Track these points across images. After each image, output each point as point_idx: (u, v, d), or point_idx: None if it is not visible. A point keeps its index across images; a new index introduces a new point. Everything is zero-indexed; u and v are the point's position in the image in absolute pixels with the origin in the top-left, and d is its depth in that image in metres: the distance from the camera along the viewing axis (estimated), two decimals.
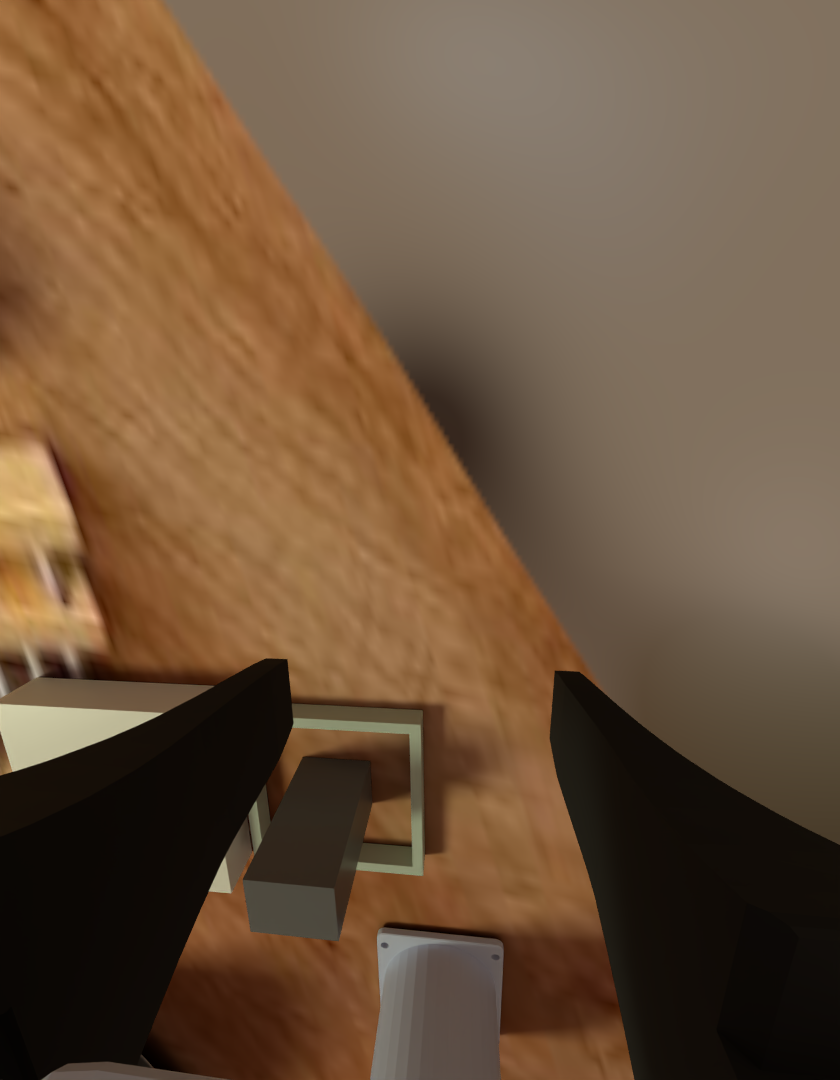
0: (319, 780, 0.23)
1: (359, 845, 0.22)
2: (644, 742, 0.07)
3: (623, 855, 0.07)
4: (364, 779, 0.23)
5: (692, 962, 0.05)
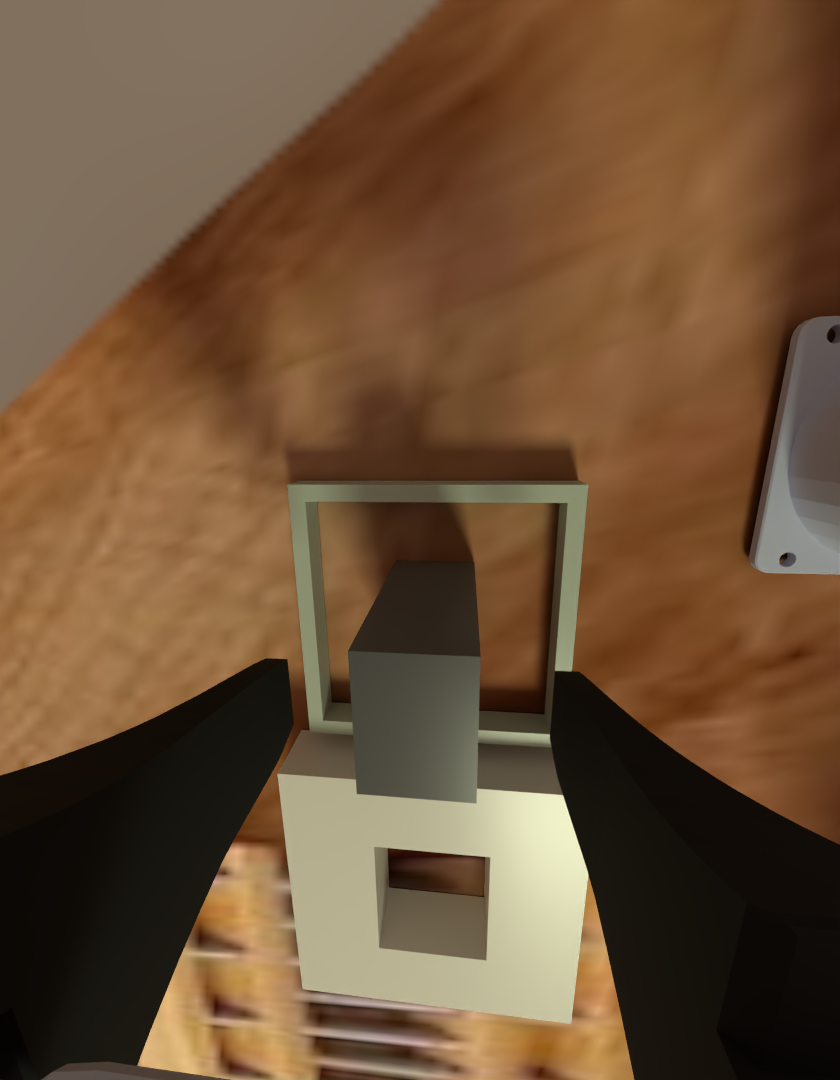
0: None
1: (457, 591, 0.13)
2: (644, 742, 0.07)
3: (623, 855, 0.07)
4: (392, 571, 0.15)
5: (693, 963, 0.05)
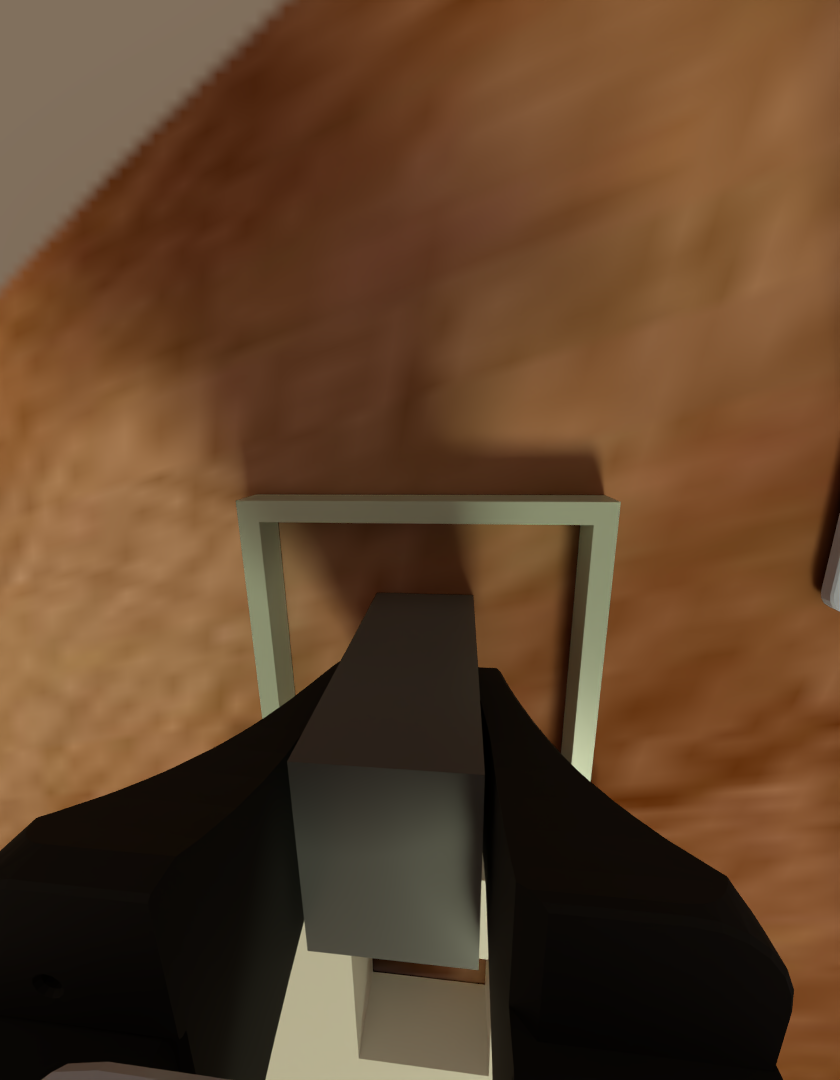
0: None
1: (452, 643, 0.10)
2: (524, 735, 0.07)
3: (492, 844, 0.07)
4: (370, 610, 0.12)
5: (504, 944, 0.05)
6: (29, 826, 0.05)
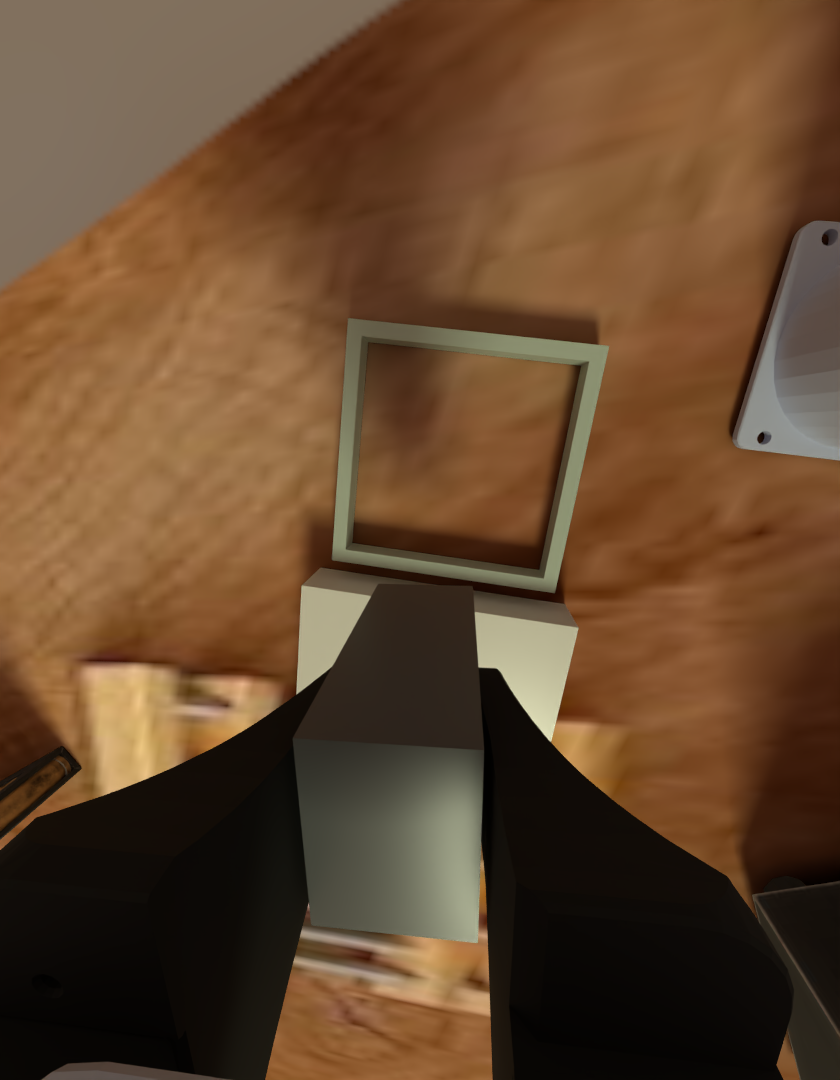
0: None
1: (452, 630, 0.10)
2: (525, 735, 0.07)
3: (492, 844, 0.07)
4: (371, 600, 0.12)
5: (504, 944, 0.05)
6: (28, 826, 0.05)
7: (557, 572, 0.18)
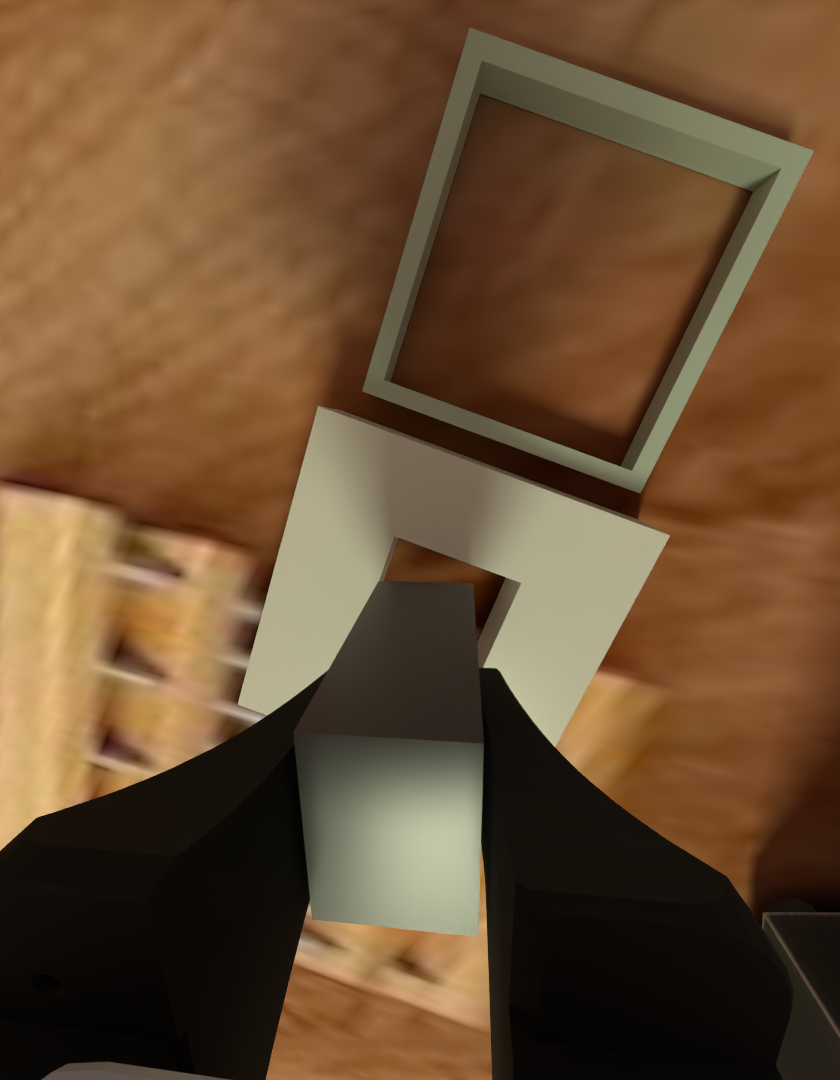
0: None
1: (452, 627, 0.10)
2: (524, 735, 0.07)
3: (492, 844, 0.07)
4: (371, 597, 0.12)
5: (503, 943, 0.05)
6: (29, 826, 0.05)
7: (651, 465, 0.14)
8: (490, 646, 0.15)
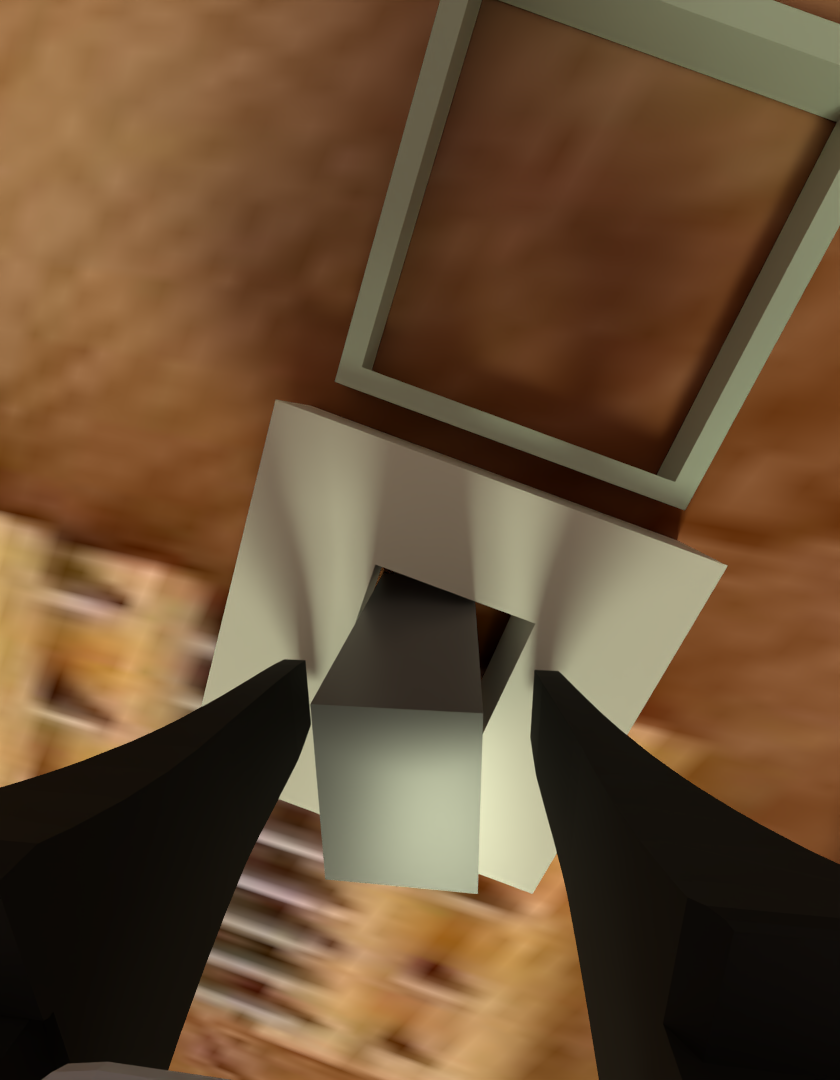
0: None
1: (453, 614, 0.11)
2: (614, 740, 0.07)
3: (590, 852, 0.07)
4: (377, 588, 0.13)
5: (644, 960, 0.05)
6: None
7: (700, 475, 0.11)
8: (496, 699, 0.12)
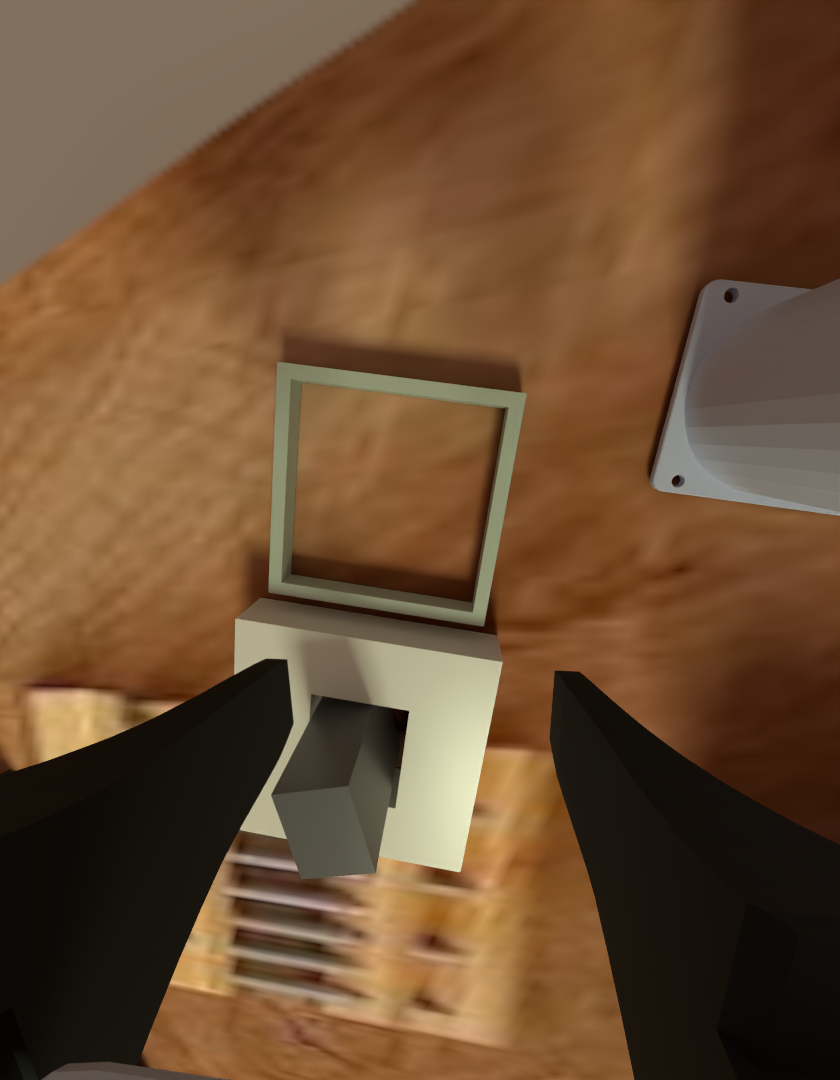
0: None
1: (358, 717, 0.19)
2: (644, 742, 0.07)
3: (624, 854, 0.07)
4: (321, 700, 0.21)
5: (692, 963, 0.05)
6: None
7: (485, 606, 0.19)
8: None
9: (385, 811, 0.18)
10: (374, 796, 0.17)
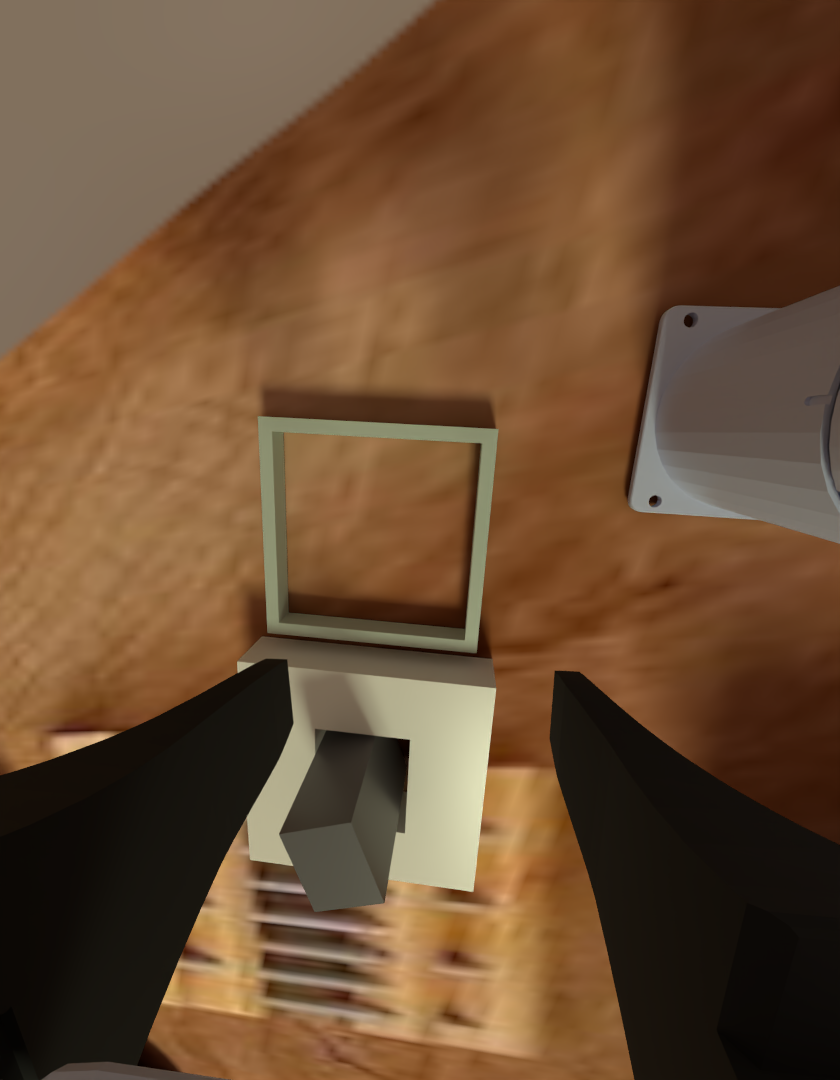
0: None
1: (360, 748, 0.19)
2: (644, 742, 0.07)
3: (624, 855, 0.07)
4: (326, 732, 0.22)
5: (693, 964, 0.05)
6: None
7: (476, 634, 0.19)
8: (408, 782, 0.21)
9: (393, 839, 0.19)
10: (380, 826, 0.18)
